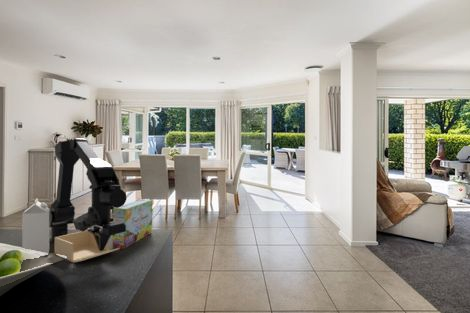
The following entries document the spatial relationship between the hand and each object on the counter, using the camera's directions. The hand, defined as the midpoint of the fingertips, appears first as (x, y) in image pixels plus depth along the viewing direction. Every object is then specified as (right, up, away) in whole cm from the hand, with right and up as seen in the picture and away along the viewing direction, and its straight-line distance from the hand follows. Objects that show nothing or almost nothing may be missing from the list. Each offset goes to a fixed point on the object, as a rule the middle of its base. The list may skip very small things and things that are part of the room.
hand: (101, 250), depth 100 cm
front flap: (-4, -3, +3) cm, 6 cm away
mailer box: (-9, -3, +6) cm, 12 cm away
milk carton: (-24, -3, +4) cm, 25 cm away
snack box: (+3, -3, +22) cm, 22 cm away
